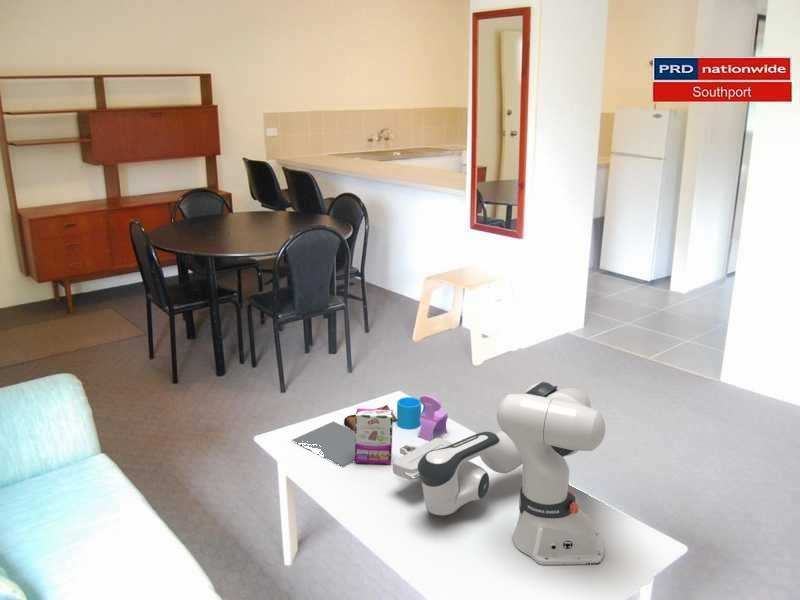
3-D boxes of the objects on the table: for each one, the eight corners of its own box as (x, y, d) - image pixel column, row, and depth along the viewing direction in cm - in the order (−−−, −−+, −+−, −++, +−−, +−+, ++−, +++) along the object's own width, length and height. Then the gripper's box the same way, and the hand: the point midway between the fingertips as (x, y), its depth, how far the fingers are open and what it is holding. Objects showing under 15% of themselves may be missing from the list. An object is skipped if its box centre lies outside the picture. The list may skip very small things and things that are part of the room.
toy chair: (450, 433, 233) (451, 391, 229) (435, 443, 227) (436, 401, 222) (430, 426, 238) (430, 385, 234) (414, 436, 231) (415, 394, 227)
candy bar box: (391, 456, 218) (393, 409, 213) (390, 465, 214) (393, 417, 208) (355, 454, 219) (357, 407, 213) (354, 463, 214) (355, 415, 208)
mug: (408, 431, 234) (408, 409, 232) (392, 423, 240) (392, 401, 238) (434, 421, 242) (434, 399, 240) (417, 413, 248) (418, 392, 245)
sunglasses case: (356, 434, 232) (351, 414, 233) (347, 437, 238) (341, 417, 239) (401, 420, 242) (395, 401, 243) (391, 423, 248) (385, 405, 249)
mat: (383, 446, 225) (383, 444, 225) (342, 467, 212) (342, 465, 212) (333, 422, 240) (333, 421, 240) (292, 441, 228) (291, 439, 228)
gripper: (414, 490, 191) (378, 471, 200) (461, 461, 205) (425, 445, 214) (414, 469, 189) (378, 452, 198) (461, 442, 203) (425, 427, 212)
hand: (403, 448), depth 206 cm, fingers closed
